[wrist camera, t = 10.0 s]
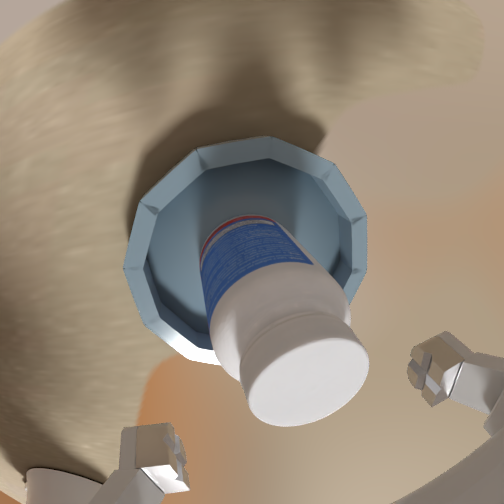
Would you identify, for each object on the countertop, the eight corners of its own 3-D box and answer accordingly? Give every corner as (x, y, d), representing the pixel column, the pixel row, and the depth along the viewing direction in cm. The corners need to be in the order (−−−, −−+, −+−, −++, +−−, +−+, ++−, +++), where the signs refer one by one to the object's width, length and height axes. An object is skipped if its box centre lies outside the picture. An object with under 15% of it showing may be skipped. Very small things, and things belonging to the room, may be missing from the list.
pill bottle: (180, 275, 17) (184, 418, 8) (234, 192, 16) (299, 278, 7) (259, 315, 19) (313, 446, 10) (312, 244, 18) (414, 347, 9)
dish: (349, 315, 21) (363, 333, 19) (170, 361, 20) (170, 383, 18) (341, 126, 16) (361, 126, 14) (107, 169, 14) (95, 174, 12)
